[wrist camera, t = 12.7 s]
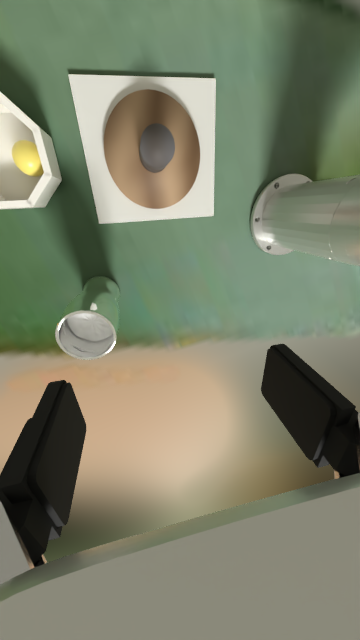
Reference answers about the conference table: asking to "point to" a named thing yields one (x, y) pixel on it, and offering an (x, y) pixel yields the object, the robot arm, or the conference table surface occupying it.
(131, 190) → the lid
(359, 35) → the conference table surface
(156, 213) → the mat
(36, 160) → the lemon
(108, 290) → the beer glass
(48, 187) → the bowl
